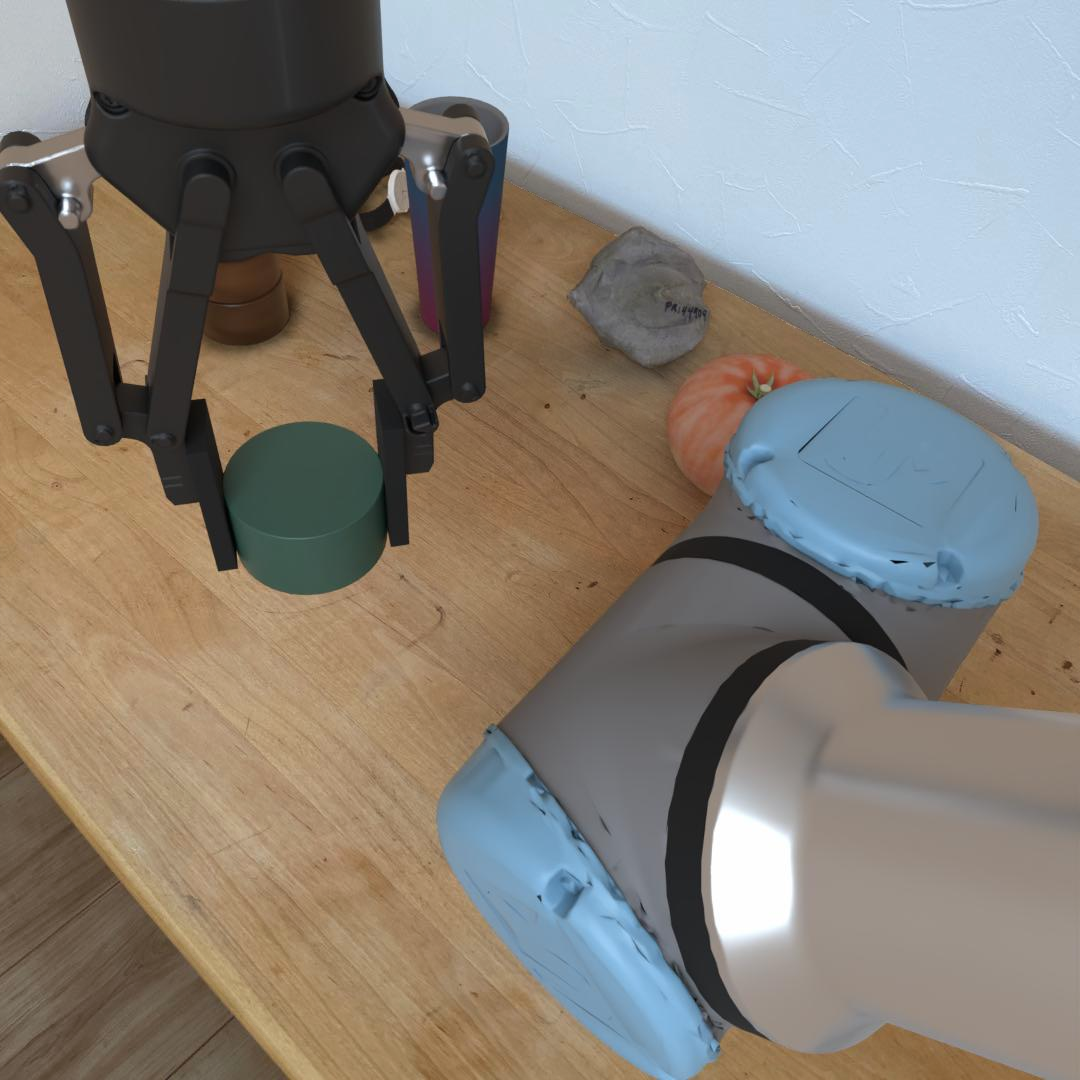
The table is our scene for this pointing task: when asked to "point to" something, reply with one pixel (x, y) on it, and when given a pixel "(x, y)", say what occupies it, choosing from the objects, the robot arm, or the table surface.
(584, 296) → the fossil
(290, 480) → the green cylinder
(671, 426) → the tomato
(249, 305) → the brown jar
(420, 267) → the cup
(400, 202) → the watch
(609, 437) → the table surface
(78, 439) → the table surface
